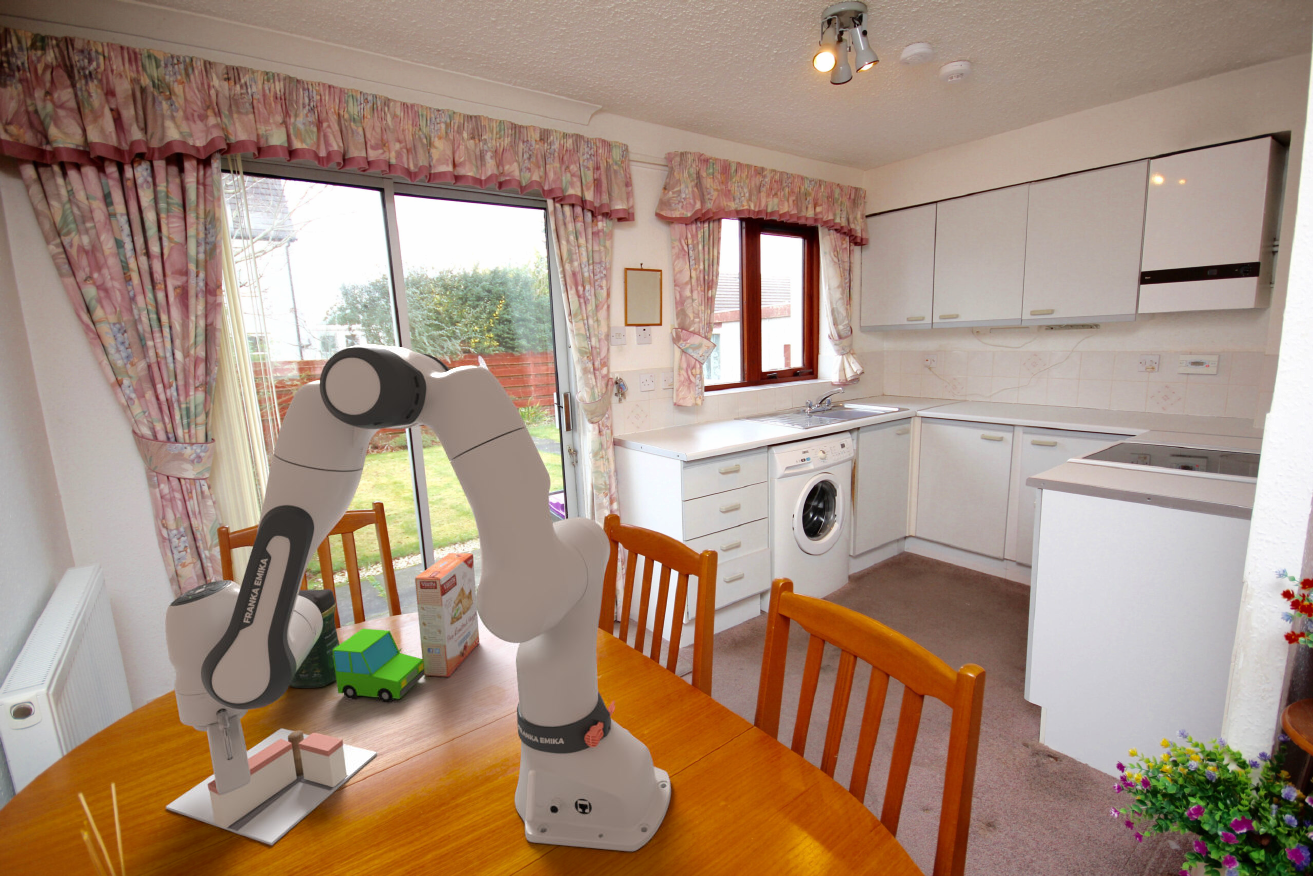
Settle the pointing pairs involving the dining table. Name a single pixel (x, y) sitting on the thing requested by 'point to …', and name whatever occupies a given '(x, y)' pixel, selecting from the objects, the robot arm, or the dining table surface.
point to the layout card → (271, 798)
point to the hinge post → (297, 750)
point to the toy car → (374, 666)
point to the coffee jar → (319, 645)
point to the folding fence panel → (255, 783)
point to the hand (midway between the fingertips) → (232, 782)
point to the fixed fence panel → (323, 759)
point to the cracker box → (447, 613)
